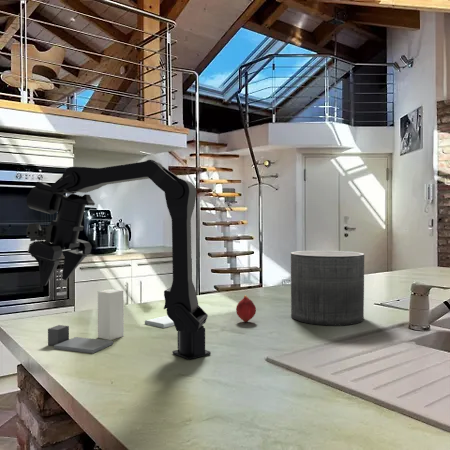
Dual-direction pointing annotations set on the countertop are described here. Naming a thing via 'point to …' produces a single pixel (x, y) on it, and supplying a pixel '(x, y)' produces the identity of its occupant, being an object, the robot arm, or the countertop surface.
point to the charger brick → (110, 314)
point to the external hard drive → (160, 322)
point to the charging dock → (74, 341)
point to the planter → (327, 287)
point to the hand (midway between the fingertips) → (54, 282)
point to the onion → (246, 309)
